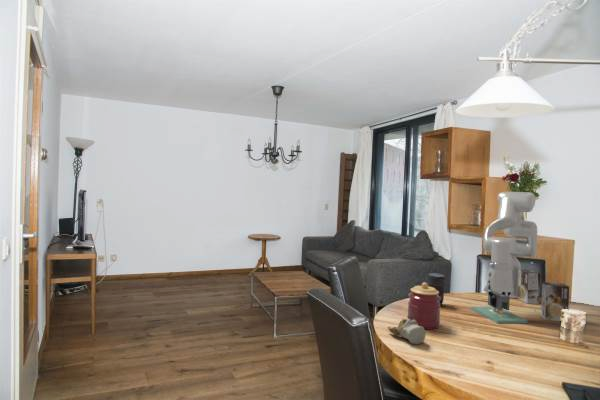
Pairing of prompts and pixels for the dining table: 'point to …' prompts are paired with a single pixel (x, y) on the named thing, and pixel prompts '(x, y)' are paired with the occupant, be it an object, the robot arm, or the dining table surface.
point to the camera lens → (437, 284)
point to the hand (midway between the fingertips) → (498, 305)
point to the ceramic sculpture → (409, 330)
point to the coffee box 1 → (529, 286)
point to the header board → (499, 315)
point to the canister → (424, 306)
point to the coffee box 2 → (554, 300)
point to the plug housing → (501, 301)
